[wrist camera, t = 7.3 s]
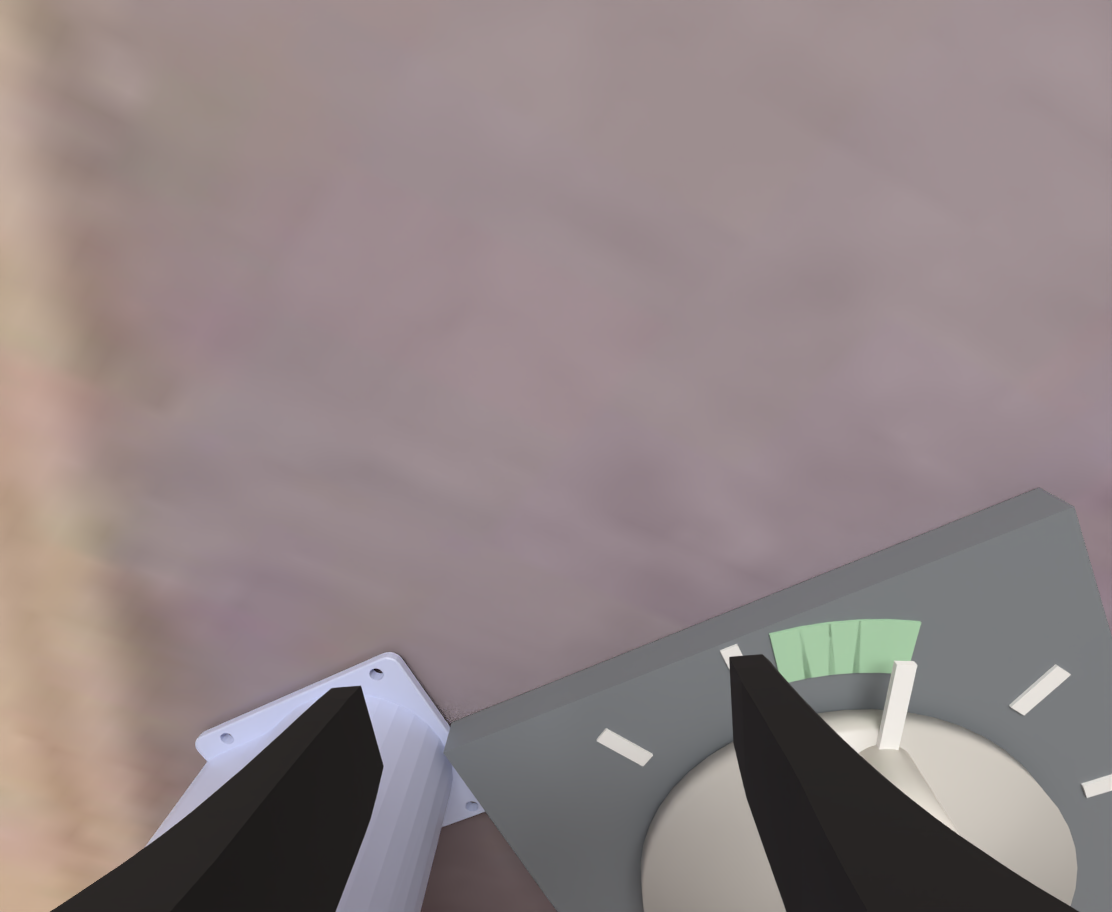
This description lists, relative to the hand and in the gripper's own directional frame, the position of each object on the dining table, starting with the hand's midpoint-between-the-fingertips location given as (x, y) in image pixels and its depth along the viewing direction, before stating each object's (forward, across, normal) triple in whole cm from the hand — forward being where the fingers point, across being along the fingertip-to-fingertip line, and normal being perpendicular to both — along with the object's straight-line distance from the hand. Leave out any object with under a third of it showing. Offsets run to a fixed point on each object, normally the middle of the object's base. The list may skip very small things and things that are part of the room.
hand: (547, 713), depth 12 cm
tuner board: (+9, -9, +15) cm, 20 cm away
